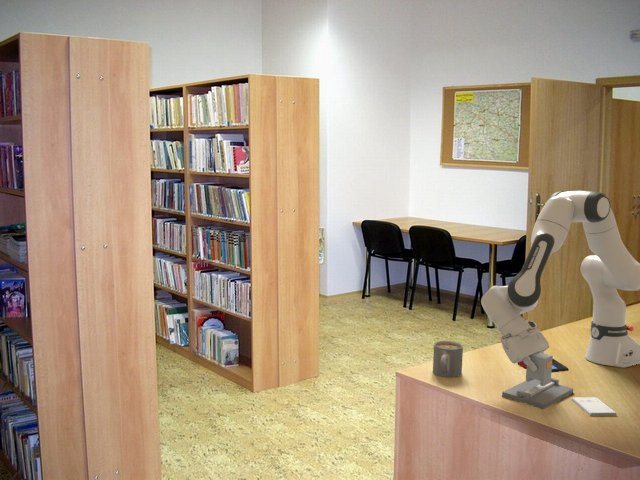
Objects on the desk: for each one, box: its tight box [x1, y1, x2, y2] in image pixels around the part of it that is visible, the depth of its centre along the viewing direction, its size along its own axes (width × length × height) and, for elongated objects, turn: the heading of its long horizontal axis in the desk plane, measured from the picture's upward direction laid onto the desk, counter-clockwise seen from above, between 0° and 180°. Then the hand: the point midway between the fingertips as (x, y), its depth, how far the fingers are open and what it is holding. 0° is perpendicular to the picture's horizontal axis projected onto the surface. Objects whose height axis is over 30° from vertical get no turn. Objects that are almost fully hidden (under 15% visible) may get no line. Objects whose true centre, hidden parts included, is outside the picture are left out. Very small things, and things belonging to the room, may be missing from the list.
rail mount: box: [501, 377, 574, 410], centre depth 218 cm, size 20×14×3 cm
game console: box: [517, 358, 569, 373], centre depth 245 cm, size 14×13×2 cm
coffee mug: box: [432, 340, 464, 378], centre depth 235 cm, size 13×10×10 cm
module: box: [525, 352, 554, 386], centre depth 216 cm, size 5×6×9 cm
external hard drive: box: [571, 396, 617, 417], centre depth 208 cm, size 2×8×12 cm
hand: (541, 367), depth 216 cm, fingers closed on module, 5 cm apart
